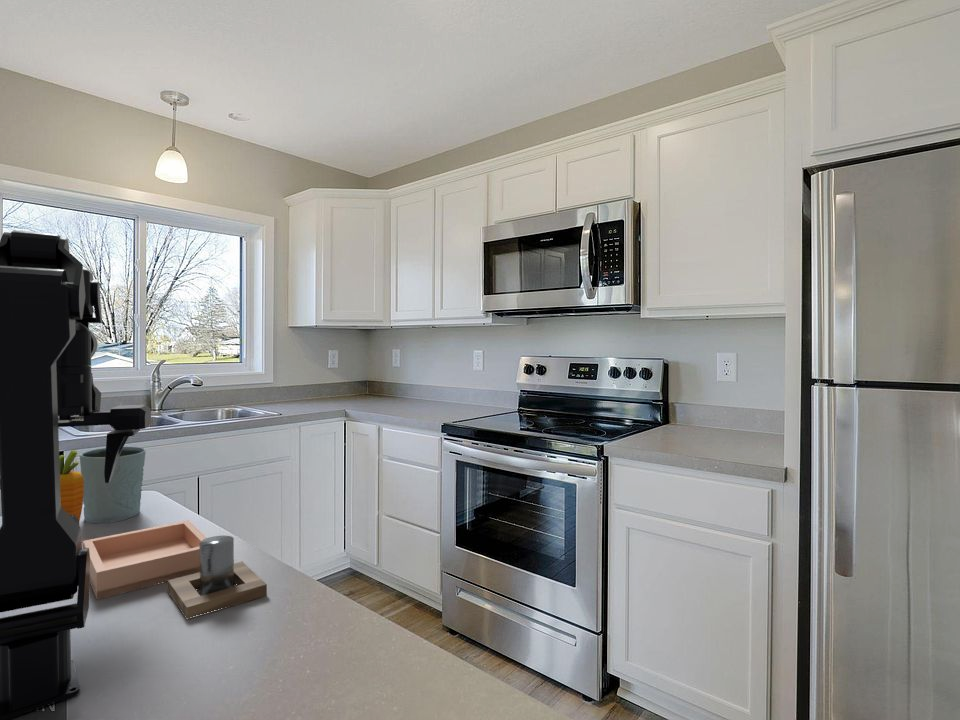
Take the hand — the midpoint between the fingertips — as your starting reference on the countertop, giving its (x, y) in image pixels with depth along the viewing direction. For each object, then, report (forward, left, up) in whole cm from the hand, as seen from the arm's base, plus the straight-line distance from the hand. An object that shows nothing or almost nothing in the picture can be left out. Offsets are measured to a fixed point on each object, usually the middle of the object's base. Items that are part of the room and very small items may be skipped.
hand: (65, 485), depth 71 cm
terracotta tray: (+1, -10, -14) cm, 17 cm away
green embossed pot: (+31, -10, -14) cm, 36 cm away
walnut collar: (-14, -15, -14) cm, 24 cm away
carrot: (+20, -2, -14) cm, 25 cm away
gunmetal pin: (-14, -15, -14) cm, 24 cm away
